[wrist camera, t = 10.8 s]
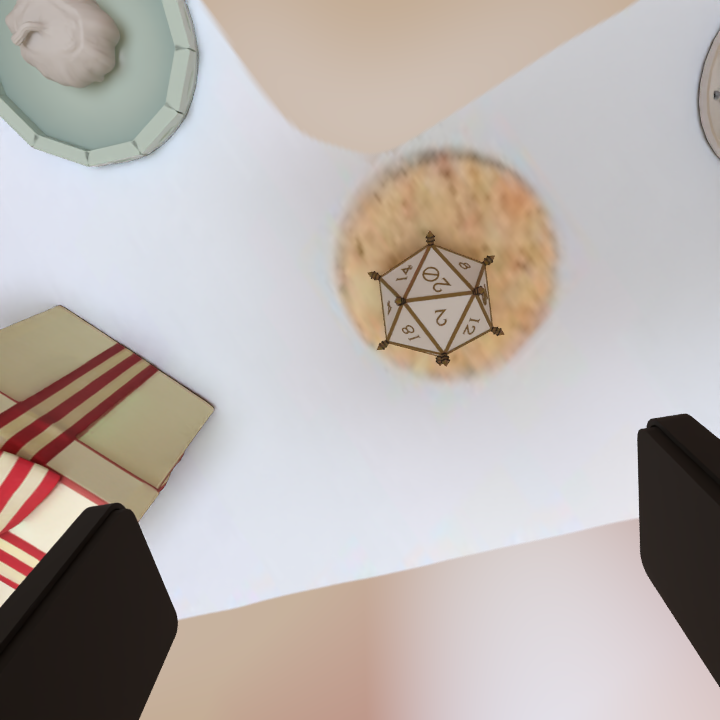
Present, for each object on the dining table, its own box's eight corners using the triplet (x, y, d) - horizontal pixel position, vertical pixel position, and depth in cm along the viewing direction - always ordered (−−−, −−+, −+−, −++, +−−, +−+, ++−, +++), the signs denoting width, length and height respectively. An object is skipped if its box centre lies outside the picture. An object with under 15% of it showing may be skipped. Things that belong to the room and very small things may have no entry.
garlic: (49, 94, 34) (-7, 82, 29) (29, -4, 32) (-34, -35, 27) (139, 92, 34) (98, 80, 29) (125, -7, 32) (79, -38, 27)
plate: (155, -113, 31) (141, -131, 29) (224, 139, 36) (215, 137, 34) (-57, -52, 32) (-84, -65, 30) (36, 183, 37) (18, 184, 35)
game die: (400, 280, 42) (320, 270, 34) (491, 221, 37) (422, 194, 29) (444, 382, 40) (369, 397, 32) (545, 334, 36) (487, 338, 28)
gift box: (8, 271, 39) (-250, 345, 23) (225, 392, 42) (130, 533, 26) (-54, 439, 45) (-299, 593, 29) (142, 536, 48) (21, 726, 32)
